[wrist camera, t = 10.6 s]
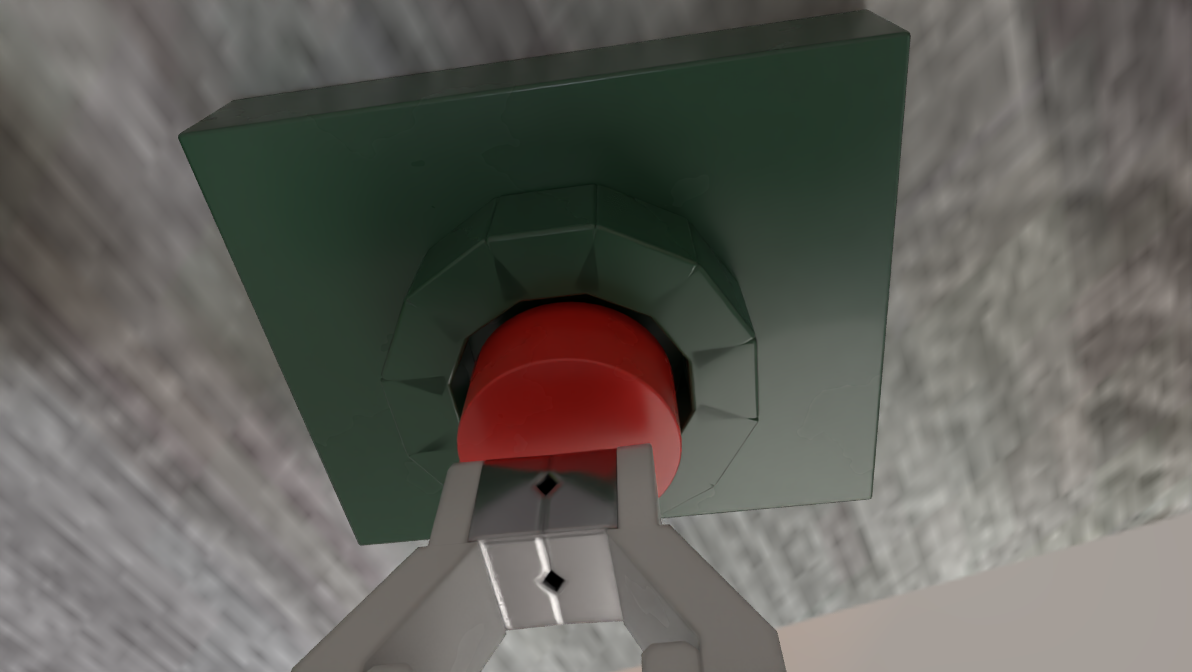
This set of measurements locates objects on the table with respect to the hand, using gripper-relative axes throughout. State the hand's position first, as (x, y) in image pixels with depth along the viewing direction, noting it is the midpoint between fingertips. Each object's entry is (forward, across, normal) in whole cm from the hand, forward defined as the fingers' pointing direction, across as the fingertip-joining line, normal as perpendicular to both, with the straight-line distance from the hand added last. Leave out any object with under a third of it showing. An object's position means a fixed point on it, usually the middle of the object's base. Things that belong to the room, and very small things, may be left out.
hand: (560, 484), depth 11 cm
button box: (+6, 0, 0) cm, 6 cm away
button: (+3, 0, 0) cm, 3 cm away
